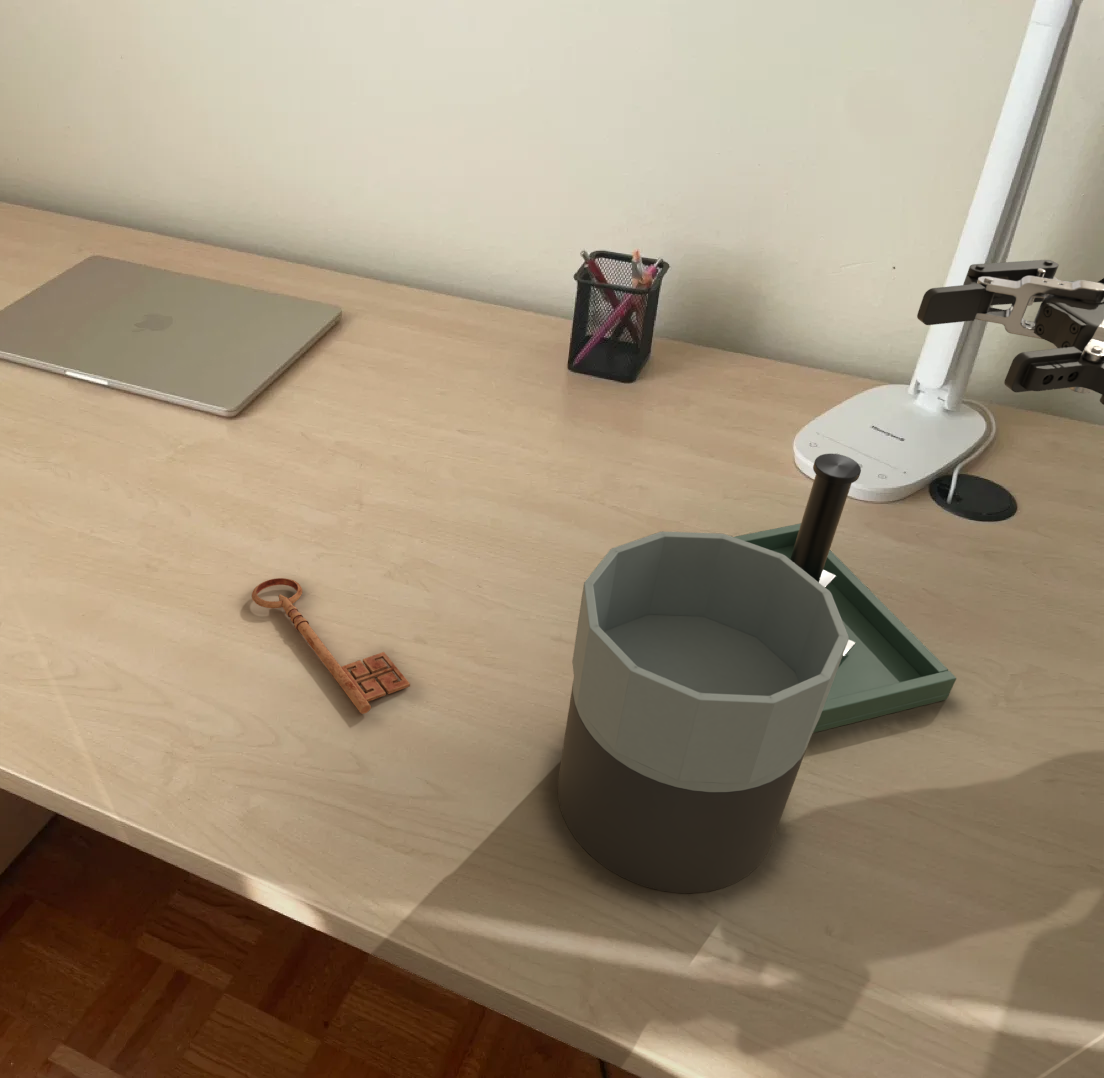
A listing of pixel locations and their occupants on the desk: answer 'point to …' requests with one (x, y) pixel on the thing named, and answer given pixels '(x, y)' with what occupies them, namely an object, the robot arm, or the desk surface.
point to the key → (329, 661)
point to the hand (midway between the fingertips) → (966, 338)
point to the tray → (868, 648)
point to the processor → (692, 705)
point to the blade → (824, 516)
